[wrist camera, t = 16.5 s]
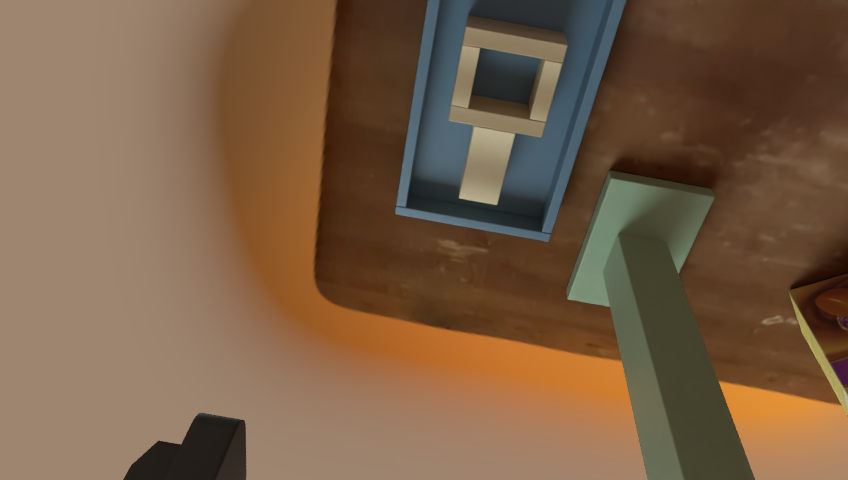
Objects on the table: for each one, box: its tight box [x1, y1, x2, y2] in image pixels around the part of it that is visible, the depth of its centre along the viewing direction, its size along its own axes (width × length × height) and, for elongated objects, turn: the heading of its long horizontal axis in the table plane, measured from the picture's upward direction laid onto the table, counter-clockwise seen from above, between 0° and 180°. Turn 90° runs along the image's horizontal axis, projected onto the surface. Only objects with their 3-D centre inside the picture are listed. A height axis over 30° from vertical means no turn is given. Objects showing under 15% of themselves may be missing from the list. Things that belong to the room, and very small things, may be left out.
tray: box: [395, 0, 627, 242], centre depth 36 cm, size 15×9×2 cm, turn 171°
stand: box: [566, 170, 755, 480], centre depth 28 cm, size 9×6×32 cm, turn 171°
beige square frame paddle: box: [448, 15, 568, 205], centre depth 36 cm, size 10×5×2 cm, turn 171°
